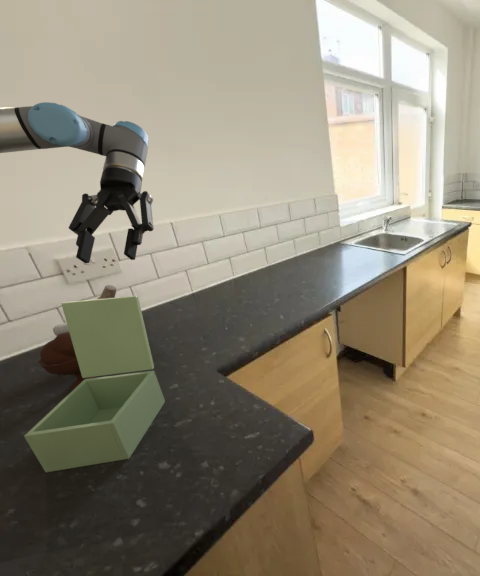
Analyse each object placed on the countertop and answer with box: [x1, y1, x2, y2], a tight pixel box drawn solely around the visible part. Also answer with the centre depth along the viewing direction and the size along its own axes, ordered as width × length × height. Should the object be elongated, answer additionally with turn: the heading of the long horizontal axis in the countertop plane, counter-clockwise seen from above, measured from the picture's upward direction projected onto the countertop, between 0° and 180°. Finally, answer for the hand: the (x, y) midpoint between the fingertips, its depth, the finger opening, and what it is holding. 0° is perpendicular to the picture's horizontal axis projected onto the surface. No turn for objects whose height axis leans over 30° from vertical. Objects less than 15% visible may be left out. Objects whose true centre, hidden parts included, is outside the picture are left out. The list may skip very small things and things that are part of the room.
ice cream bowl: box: [37, 332, 98, 392], centre depth 78 cm, size 11×11×15 cm
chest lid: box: [61, 295, 155, 378], centre depth 68 cm, size 17×14×1 cm
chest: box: [23, 370, 166, 473], centre depth 64 cm, size 16×14×9 cm
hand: (106, 258), depth 69 cm, fingers open, 8 cm apart
